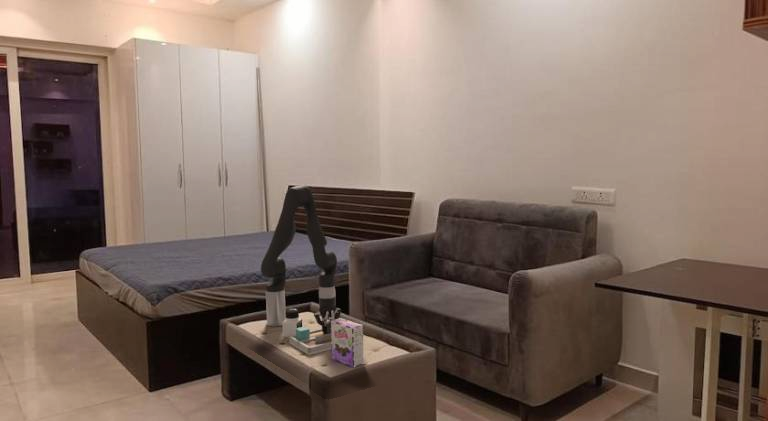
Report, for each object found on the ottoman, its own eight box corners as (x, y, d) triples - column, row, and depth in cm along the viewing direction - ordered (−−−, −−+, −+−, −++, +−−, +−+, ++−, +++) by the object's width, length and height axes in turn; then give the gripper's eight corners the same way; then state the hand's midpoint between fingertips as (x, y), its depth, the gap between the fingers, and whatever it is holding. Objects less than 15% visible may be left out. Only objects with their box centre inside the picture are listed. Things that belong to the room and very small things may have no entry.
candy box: (330, 359, 226) (329, 320, 224) (341, 355, 230) (340, 317, 228) (353, 368, 216) (352, 327, 214) (364, 364, 220) (363, 324, 218)
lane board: (288, 342, 246) (288, 336, 246) (327, 333, 258) (327, 327, 257) (308, 355, 231) (308, 348, 231) (349, 344, 242) (349, 337, 242)
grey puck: (314, 342, 240) (313, 335, 239) (321, 340, 242) (321, 333, 241) (318, 344, 237) (317, 337, 236) (325, 342, 239) (325, 336, 239)
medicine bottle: (297, 338, 252) (296, 312, 251) (282, 337, 253) (281, 311, 252) (302, 332, 259) (301, 308, 258) (288, 332, 260) (287, 307, 259)
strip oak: (293, 340, 246) (293, 327, 245) (328, 332, 256) (328, 319, 255) (300, 344, 240) (299, 331, 240) (335, 336, 251) (335, 322, 250)
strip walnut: (302, 346, 238) (302, 332, 238) (338, 337, 249) (338, 324, 248) (309, 350, 233) (309, 336, 232) (346, 341, 244) (345, 327, 243)
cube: (296, 338, 245) (295, 328, 245) (305, 336, 248) (304, 326, 247) (300, 341, 241) (300, 331, 241) (309, 338, 244) (309, 329, 244)
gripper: (336, 291, 257) (337, 327, 259) (309, 296, 249) (310, 333, 251) (344, 294, 251) (345, 331, 253) (317, 300, 243) (318, 337, 245)
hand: (328, 332), depth 252 cm, fingers closed on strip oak, 3 cm apart
